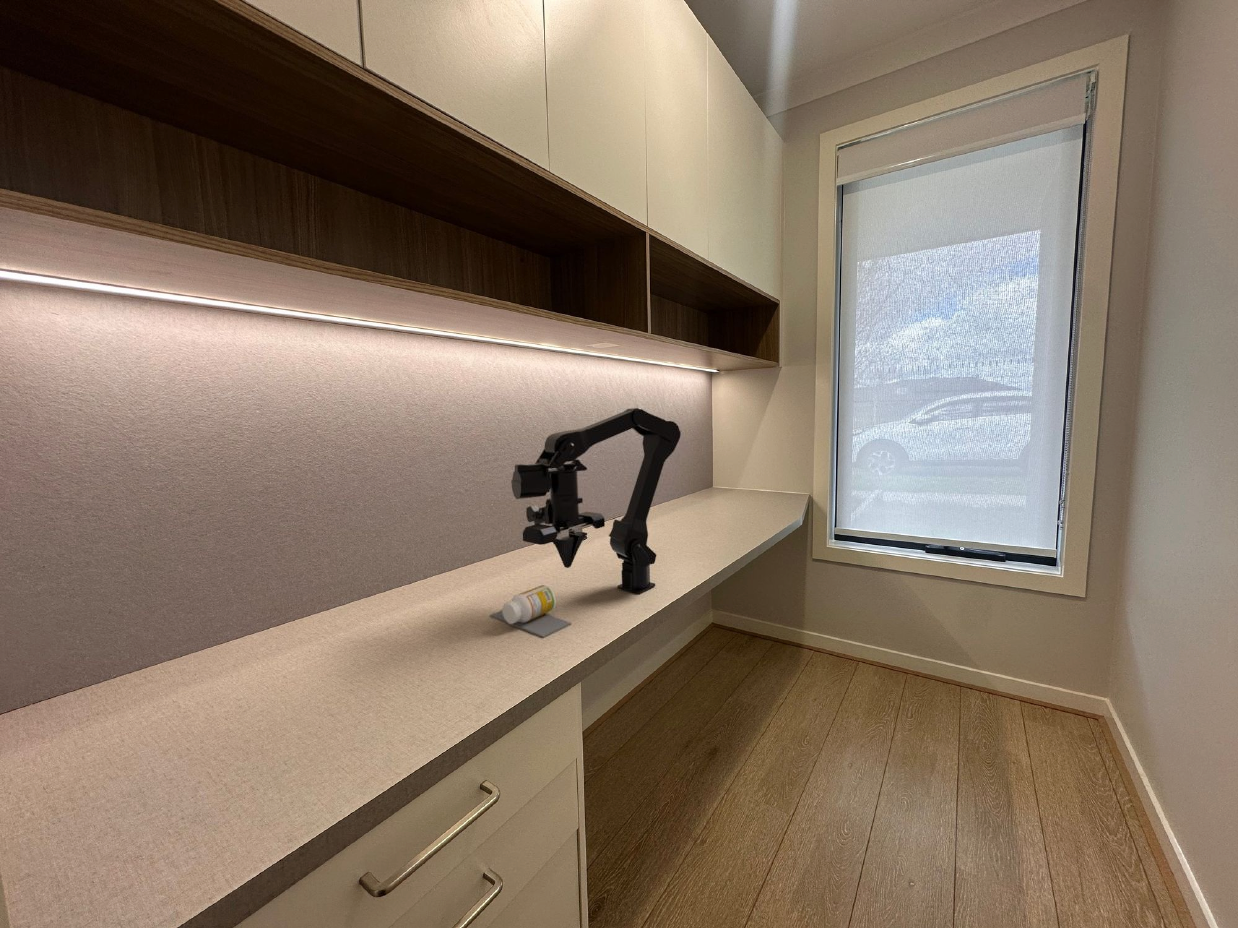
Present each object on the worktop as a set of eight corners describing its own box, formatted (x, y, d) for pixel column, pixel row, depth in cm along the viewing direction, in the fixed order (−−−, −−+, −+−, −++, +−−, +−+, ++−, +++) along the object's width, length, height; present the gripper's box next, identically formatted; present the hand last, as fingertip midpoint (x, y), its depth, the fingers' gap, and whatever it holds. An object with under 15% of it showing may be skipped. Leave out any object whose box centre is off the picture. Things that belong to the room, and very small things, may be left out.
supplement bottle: (536, 603, 100) (498, 619, 92) (539, 579, 99) (501, 594, 91) (554, 615, 97) (516, 633, 89) (558, 591, 95) (519, 607, 88)
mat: (517, 605, 102) (517, 603, 102) (571, 624, 92) (571, 622, 92) (489, 616, 96) (489, 614, 96) (543, 637, 86) (543, 636, 86)
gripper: (568, 485, 112) (571, 550, 114) (503, 497, 98) (507, 572, 99) (605, 488, 105) (607, 558, 107) (540, 502, 91) (543, 582, 92)
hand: (567, 567), depth 101 cm, fingers closed
